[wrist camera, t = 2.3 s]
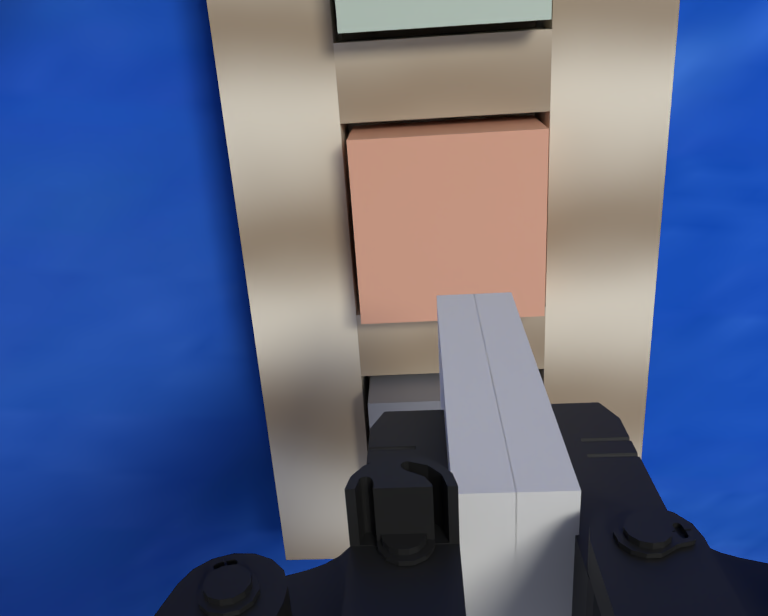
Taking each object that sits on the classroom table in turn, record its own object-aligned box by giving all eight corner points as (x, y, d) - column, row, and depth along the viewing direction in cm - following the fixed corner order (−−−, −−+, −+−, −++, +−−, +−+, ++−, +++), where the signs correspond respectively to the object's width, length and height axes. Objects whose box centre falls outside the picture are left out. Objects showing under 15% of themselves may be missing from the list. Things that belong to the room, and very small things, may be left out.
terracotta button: (353, 126, 24) (346, 140, 22) (532, 115, 24) (548, 128, 21) (366, 291, 27) (361, 324, 24) (530, 284, 26) (544, 316, 24)
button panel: (205, -234, 23) (162, -286, 19) (657, -273, 22) (712, -336, 18) (300, 499, 33) (284, 565, 29) (607, 489, 33) (635, 555, 29)
